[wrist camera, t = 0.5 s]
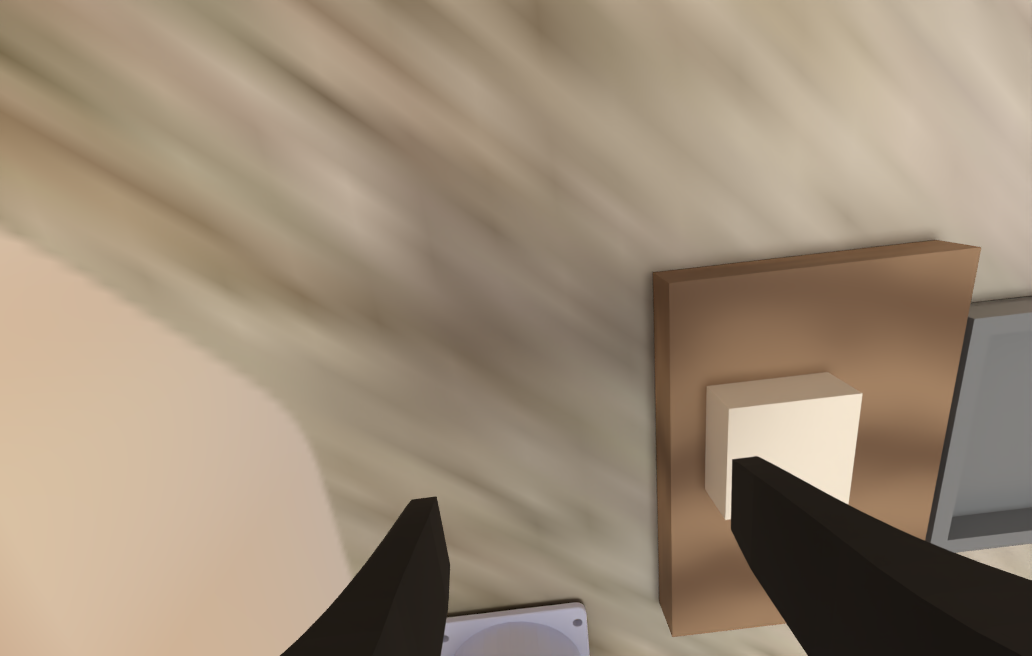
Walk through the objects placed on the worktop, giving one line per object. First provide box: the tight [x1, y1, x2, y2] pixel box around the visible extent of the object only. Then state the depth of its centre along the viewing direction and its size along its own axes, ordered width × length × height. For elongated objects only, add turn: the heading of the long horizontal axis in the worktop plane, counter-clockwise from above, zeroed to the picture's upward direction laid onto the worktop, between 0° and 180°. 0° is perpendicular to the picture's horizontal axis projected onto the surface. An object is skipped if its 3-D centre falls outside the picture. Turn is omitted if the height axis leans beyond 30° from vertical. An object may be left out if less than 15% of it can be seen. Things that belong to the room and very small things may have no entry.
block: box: [705, 372, 863, 520], centre depth 20 cm, size 5×5×2 cm
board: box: [653, 240, 981, 637], centre depth 22 cm, size 18×12×2 cm, turn 6°
